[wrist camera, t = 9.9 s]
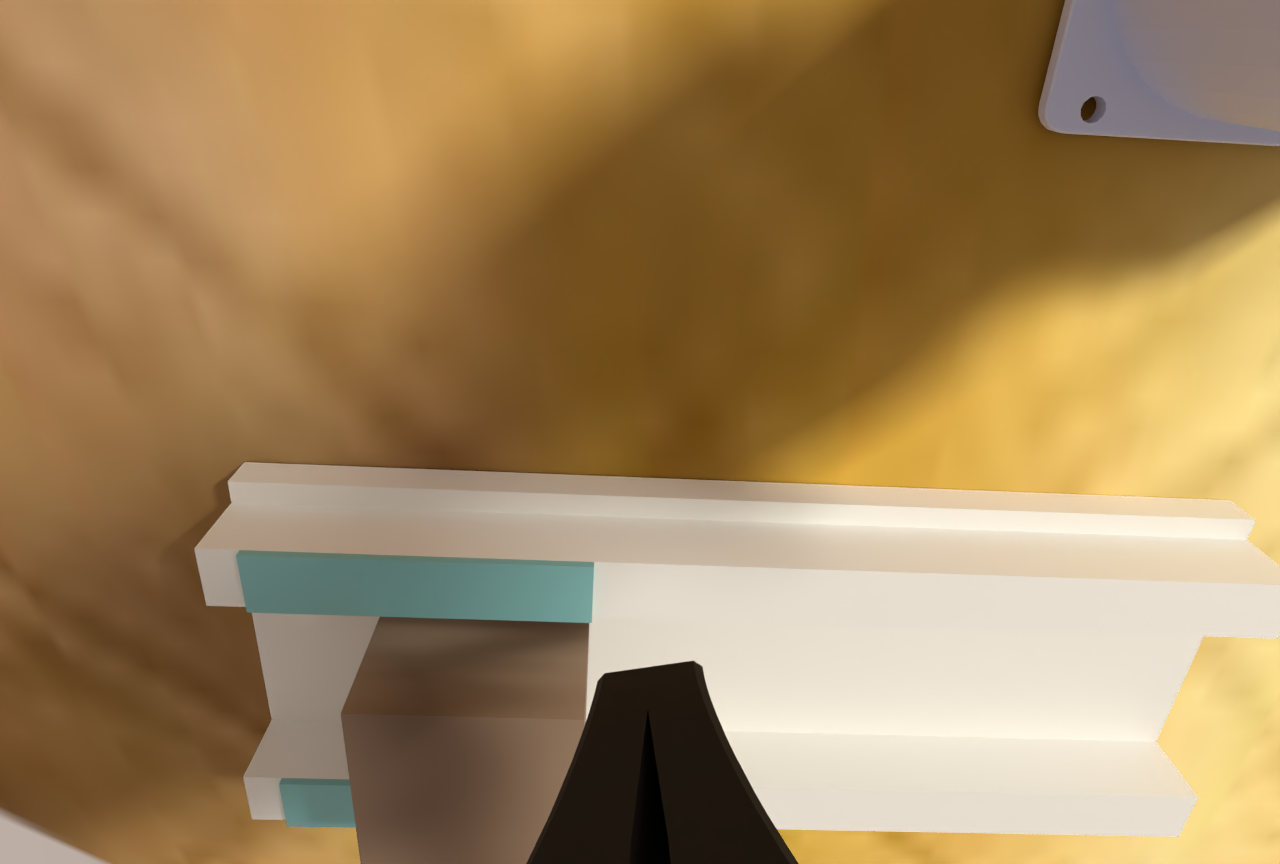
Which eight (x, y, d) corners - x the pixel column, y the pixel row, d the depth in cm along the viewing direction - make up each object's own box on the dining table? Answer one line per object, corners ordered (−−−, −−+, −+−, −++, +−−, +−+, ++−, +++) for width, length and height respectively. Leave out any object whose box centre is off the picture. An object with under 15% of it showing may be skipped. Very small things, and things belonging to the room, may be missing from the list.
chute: (1229, 500, 22) (1321, 569, 19) (1115, 767, 27) (1175, 857, 24) (243, 462, 21) (185, 531, 18) (293, 748, 25) (252, 840, 23)
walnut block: (591, 578, 22) (584, 719, 17) (585, 721, 24) (578, 878, 19) (397, 572, 21) (340, 713, 17) (410, 716, 24) (362, 875, 19)
